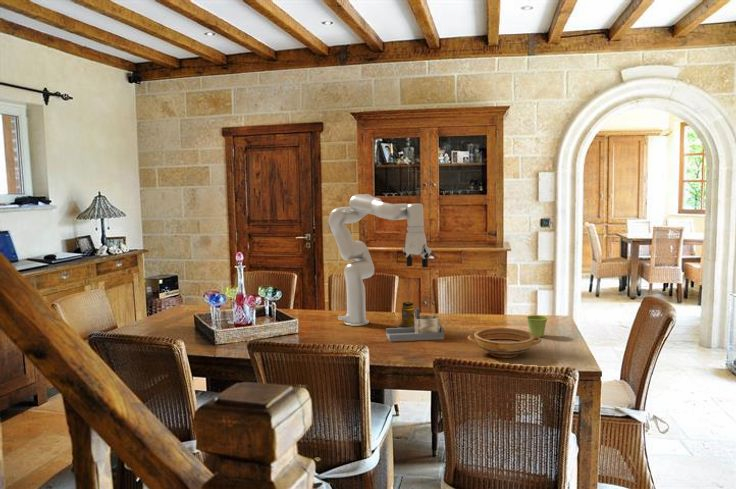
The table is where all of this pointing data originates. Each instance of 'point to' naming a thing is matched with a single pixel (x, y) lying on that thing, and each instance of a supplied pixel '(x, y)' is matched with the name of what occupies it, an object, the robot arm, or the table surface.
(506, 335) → the ceramic bowl
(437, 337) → the bay
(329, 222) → the robot arm
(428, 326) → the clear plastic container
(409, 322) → the condiment
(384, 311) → the table surface
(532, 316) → the plant pot
